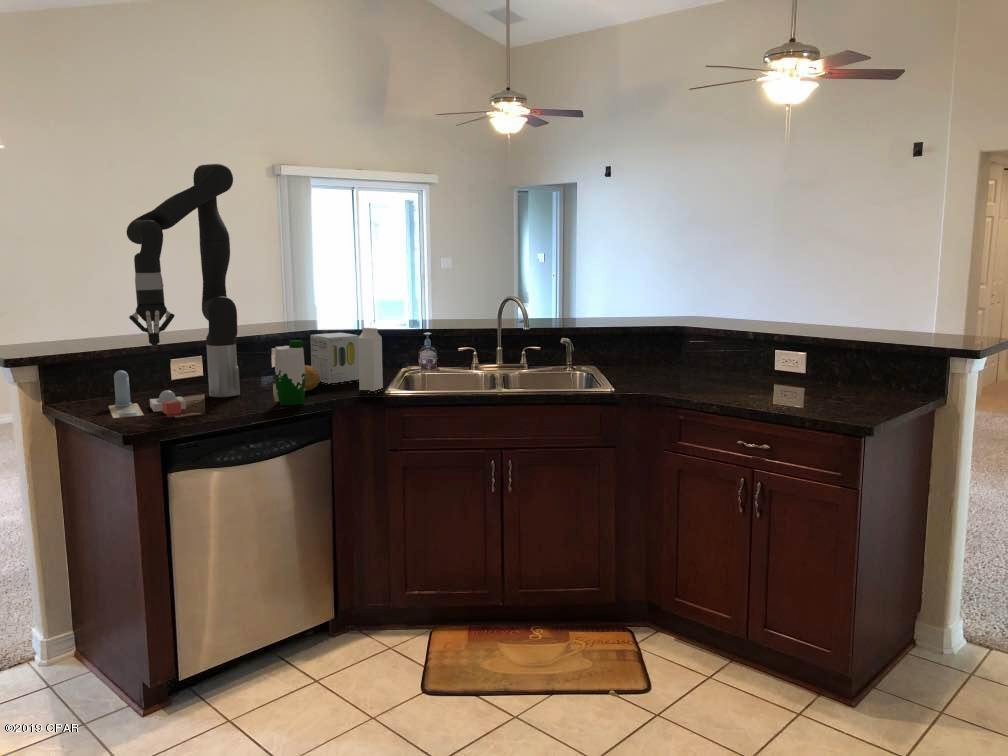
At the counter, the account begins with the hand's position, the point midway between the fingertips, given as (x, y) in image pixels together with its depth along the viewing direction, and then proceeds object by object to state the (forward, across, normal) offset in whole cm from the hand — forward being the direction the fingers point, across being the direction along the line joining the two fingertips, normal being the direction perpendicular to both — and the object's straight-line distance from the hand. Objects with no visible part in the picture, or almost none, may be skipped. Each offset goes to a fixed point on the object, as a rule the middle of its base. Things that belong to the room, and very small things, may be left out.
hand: (154, 345), depth 231 cm
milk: (+21, -67, +4) cm, 71 cm away
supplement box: (+21, -64, -22) cm, 70 cm away
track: (+19, +10, +3) cm, 22 cm away
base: (+20, -2, +4) cm, 20 cm away
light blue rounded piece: (+19, -2, +4) cm, 20 cm away
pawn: (+18, +10, -5) cm, 21 cm away
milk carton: (+20, -37, +12) cm, 44 cm away
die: (+20, -2, +13) cm, 23 cm away
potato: (+20, -46, -6) cm, 51 cm away
